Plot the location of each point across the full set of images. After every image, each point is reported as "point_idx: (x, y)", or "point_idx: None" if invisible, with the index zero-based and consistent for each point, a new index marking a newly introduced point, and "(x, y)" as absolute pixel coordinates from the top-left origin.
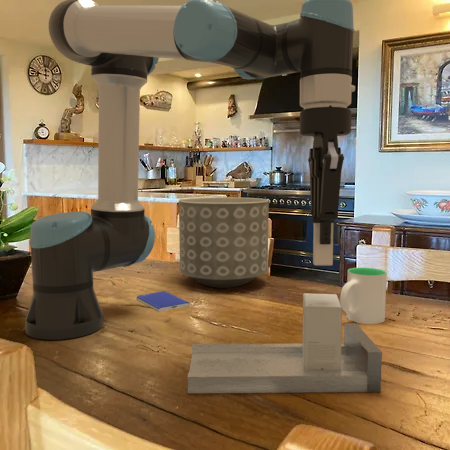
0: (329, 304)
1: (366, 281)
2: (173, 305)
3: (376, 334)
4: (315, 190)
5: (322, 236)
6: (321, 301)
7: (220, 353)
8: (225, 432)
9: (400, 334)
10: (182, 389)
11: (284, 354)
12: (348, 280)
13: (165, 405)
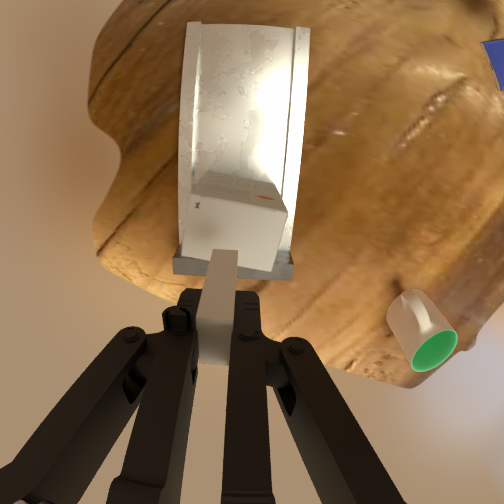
0: (197, 239)
1: (414, 341)
2: (492, 65)
3: (353, 305)
4: (225, 431)
5: (178, 304)
6: (217, 231)
7: (290, 65)
8: (107, 76)
9: (345, 329)
10: (204, 22)
11: (277, 157)
12: (438, 321)
13: (166, 12)
